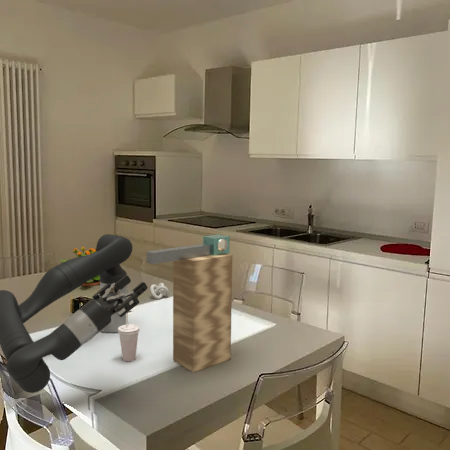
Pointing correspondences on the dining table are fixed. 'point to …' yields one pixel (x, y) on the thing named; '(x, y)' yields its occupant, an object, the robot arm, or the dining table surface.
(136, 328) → the smoothie
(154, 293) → the knot
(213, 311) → the stand
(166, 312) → the dining table surface
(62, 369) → the dining table surface
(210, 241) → the bar
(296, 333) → the dining table surface
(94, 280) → the potted flower
